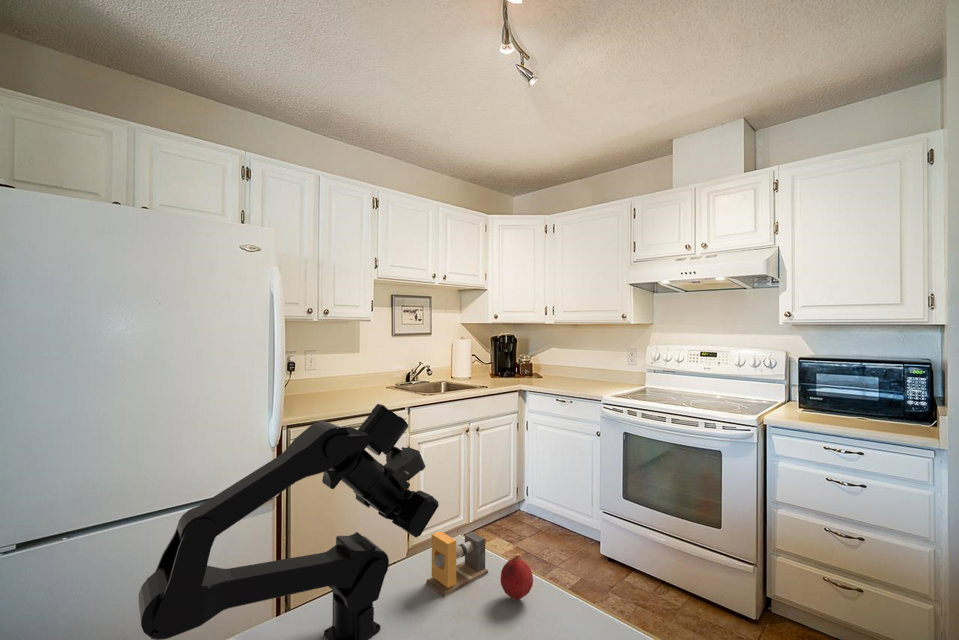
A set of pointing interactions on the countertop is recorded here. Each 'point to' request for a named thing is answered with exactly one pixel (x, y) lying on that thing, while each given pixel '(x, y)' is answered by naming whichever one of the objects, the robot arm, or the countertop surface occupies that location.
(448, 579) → the collar
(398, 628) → the countertop surface
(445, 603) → the countertop surface
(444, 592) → the pipe stand
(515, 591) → the onion
